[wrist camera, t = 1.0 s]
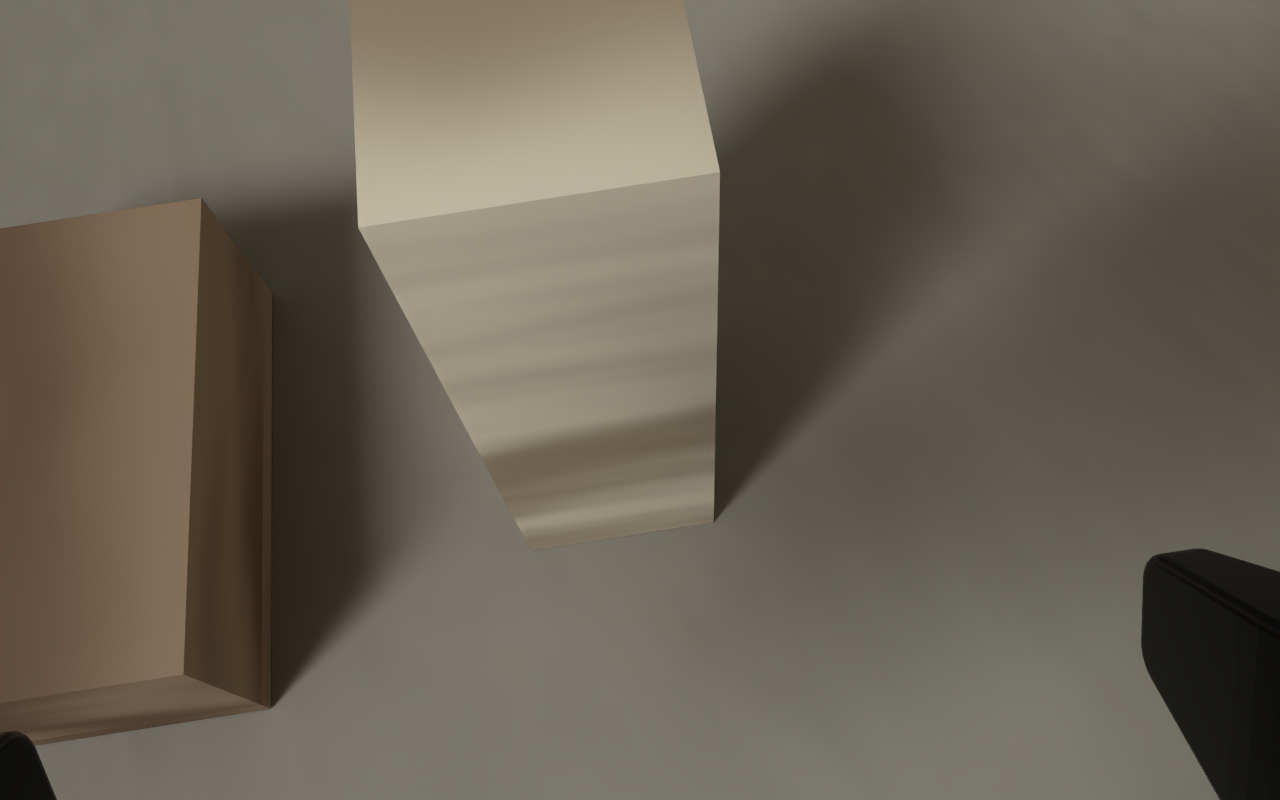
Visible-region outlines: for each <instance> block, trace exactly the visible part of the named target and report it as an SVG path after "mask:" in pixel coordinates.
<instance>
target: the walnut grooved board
mask: <svg viewBox="0 0 1280 800" xmlns="http://www.w3.org/2000/svg"><path fill="white" fill-rule="evenodd" d="M271 483H272V292H271V291H270V290H269V288H268V287H267V286H266V284H265V283H264V282H263V280H262V279H261V278H260V276H259V275H258V274H257V272H256V271H255V270H254V268H253V267H252V266H251V264H250V263H249V261H248V260H247V259H246V257H245V256H244V255H243V253H242V252H241V251H240V249H239V248H238V247H237V245H236V244H235V243H234V241H233V240H232V239H231V237H230V236H229V235H228V233H227V232H226V230H225V229H224V228H223V226H222V225H221V224H220V222H219V221H218V220H217V218H216V217H215V216H214V214H213V213H212V212H211V210H210V209H209V208H208V206H207V205H206V204H205V202H204V201H203V199H202V198H198V199H191V200H185V201H178V202H171V203H165V204H158V205H152V206H145V207H139V208H132V209H126V210H119V211H113V212H106V213H100V214H93V215H86V216H80V217H73V218H67V219H60V220H54V221H47V222H41V223H34V224H28V225H21V226H15V227H8V228H1V229H0V732H7V731H18V732H21V733H23V734H25V735H27V736H28V737H29V738H30V740H31V741H32V742H33V744H34V746H35V745H42V744H48V743H54V742H61V741H67V740H74V739H80V738H86V737H93V736H99V735H106V734H112V733H118V732H125V731H131V730H138V729H144V728H150V727H157V726H163V725H170V724H176V723H182V722H189V721H195V720H202V719H208V718H214V717H221V716H227V715H234V714H240V713H246V712H253V711H259V710H266V709H271Z"/></svg>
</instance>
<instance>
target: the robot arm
mask: <svg viewBox="0 0 1280 800" xmlns="http://www.w3.org/2000/svg"><path fill="white" fill-rule="evenodd" d="M1141 646H1142V654H1143V658H1144V662H1145V665H1146V668H1147V671H1148V673H1149V675H1150V677H1151V679H1152V681H1153V682H1154V684H1155V686H1156V688H1157V689H1158V691H1159V693H1160V695H1161V697H1162V698H1163V700H1164V702H1165V704H1166V705H1167V707H1168V709H1169V711H1170V712H1171V714H1172V716H1173V718H1174V720H1175V721H1176V723H1177V725H1178V727H1179V728H1180V730H1181V732H1182V734H1183V735H1184V737H1185V739H1186V741H1187V743H1188V744H1189V746H1190V748H1191V750H1192V751H1193V753H1194V755H1195V757H1196V759H1197V760H1198V762H1199V764H1200V766H1201V767H1202V769H1203V771H1204V773H1205V774H1206V776H1207V778H1208V780H1209V782H1210V783H1211V785H1212V787H1213V789H1214V790H1215V792H1216V794H1217V796H1218V797H1219V799H1220V800H1280V572H1278V571H1275V570H1272V569H1269V568H1265V567H1262V566H1259V565H1256V564H1252V563H1249V562H1246V561H1243V560H1239V559H1236V558H1233V557H1229V556H1226V555H1223V554H1220V553H1216V552H1213V551H1210V550H1206V549H1189V550H1182V551H1176V552H1170V553H1163V554H1158V555H1155V556H1153V557H1152V558H1151V559H1150V560H1149V561H1148V562H1147V563H1146V566H1145V569H1144V575H1143V600H1142V634H1141ZM0 800H57V799H56V797H55V794H54V792H53V789H52V787H51V784H50V782H49V780H48V777H47V775H46V772H45V770H44V767H43V765H42V762H41V760H40V758H39V755H38V753H37V750H36V748H35V746H34V744H33V742H32V741H31V740H30V738H29V737H28V736H27V735H25V734H23V733H21V732H18V731H7V732H0Z"/></svg>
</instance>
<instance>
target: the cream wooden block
mask: <svg viewBox="0 0 1280 800" xmlns="http://www.w3.org/2000/svg"><path fill="white" fill-rule="evenodd" d="M350 22H351V48H352V75H353V102H354V129H355V156H356V183H357V209H358V228H359V230H360V232H361V234H362V236H363V238H364V239H365V241H366V243H367V245H368V247H369V249H370V251H371V252H372V254H373V256H374V258H375V260H376V262H377V264H378V266H379V267H380V269H381V271H382V273H383V275H384V277H385V279H386V280H387V282H388V284H389V286H390V288H391V290H392V292H393V294H394V295H395V297H396V299H397V301H398V303H399V305H400V307H401V308H402V310H403V312H404V314H405V316H406V318H407V320H408V322H409V323H410V325H411V327H412V329H413V331H414V333H415V335H416V336H417V338H418V340H419V342H420V344H421V346H422V348H423V350H424V351H425V353H426V355H427V357H428V359H429V361H430V363H431V364H432V366H433V368H434V370H435V372H436V374H437V376H438V378H439V379H440V381H441V383H442V385H443V387H444V389H445V391H446V392H447V394H448V396H449V398H450V400H451V402H452V404H453V406H454V407H455V409H456V411H457V413H458V415H459V417H460V419H461V420H462V422H463V424H464V426H465V428H466V430H467V432H468V434H469V435H470V437H471V439H472V441H473V443H474V445H475V447H476V448H477V450H478V452H479V454H480V456H481V458H482V460H483V462H484V463H485V465H486V467H487V469H488V471H489V473H490V475H491V476H492V478H493V480H494V482H495V484H496V486H497V488H498V490H499V491H500V493H501V495H502V497H503V499H504V501H505V503H506V504H507V506H508V508H509V510H510V512H511V514H512V516H513V518H514V519H515V521H516V523H517V525H518V527H519V529H520V531H521V532H522V534H523V536H524V538H525V540H526V542H527V544H528V546H529V547H530V549H531V551H533V550H539V549H545V548H552V547H558V546H565V545H571V544H578V543H584V542H590V541H597V540H603V539H610V538H616V537H623V536H629V535H635V534H642V533H648V532H655V531H661V530H668V529H674V528H680V527H687V526H693V525H700V524H706V523H713V522H714V477H715V422H716V367H717V312H718V257H719V202H720V170H719V165H718V160H717V156H716V151H715V146H714V142H713V137H712V132H711V128H710V123H709V118H708V114H707V109H706V104H705V100H704V95H703V90H702V85H701V81H700V76H699V71H698V67H697V62H696V57H695V53H694V48H693V43H692V39H691V34H690V29H689V25H688V20H687V15H686V11H685V6H684V1H683V0H350Z"/></svg>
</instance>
